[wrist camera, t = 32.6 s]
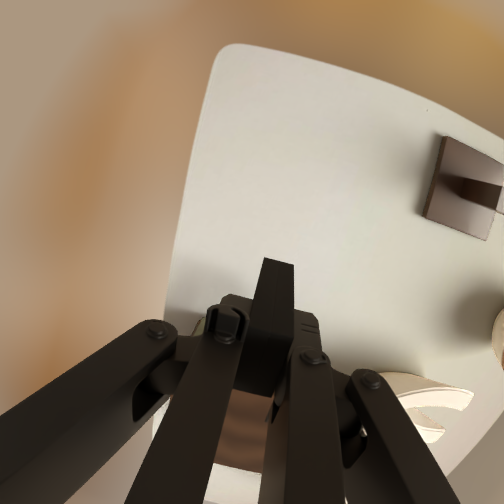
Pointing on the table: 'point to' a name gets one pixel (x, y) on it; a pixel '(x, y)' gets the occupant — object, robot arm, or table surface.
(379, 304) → the table surface
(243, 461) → the cabinet
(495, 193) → the stand
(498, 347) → the trinket box
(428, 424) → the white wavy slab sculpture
